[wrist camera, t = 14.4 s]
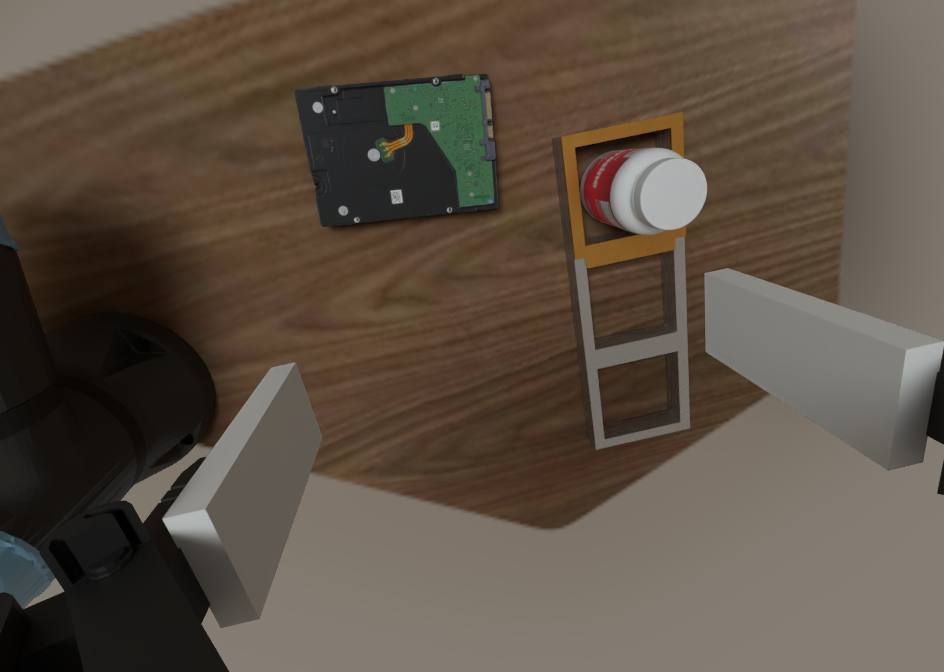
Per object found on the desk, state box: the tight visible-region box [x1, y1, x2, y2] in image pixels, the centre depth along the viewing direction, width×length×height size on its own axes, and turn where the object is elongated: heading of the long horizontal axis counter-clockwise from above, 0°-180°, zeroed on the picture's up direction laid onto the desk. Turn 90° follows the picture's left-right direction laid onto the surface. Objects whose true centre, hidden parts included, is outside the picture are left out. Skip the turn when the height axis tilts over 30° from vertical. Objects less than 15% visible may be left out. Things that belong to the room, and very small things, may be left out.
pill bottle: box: [580, 148, 707, 235], centre depth 37 cm, size 6×6×11 cm
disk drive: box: [295, 74, 498, 227], centre depth 38 cm, size 10×3×15 cm
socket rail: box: [552, 112, 690, 450], centre depth 44 cm, size 10×30×3 cm, turn 11°
